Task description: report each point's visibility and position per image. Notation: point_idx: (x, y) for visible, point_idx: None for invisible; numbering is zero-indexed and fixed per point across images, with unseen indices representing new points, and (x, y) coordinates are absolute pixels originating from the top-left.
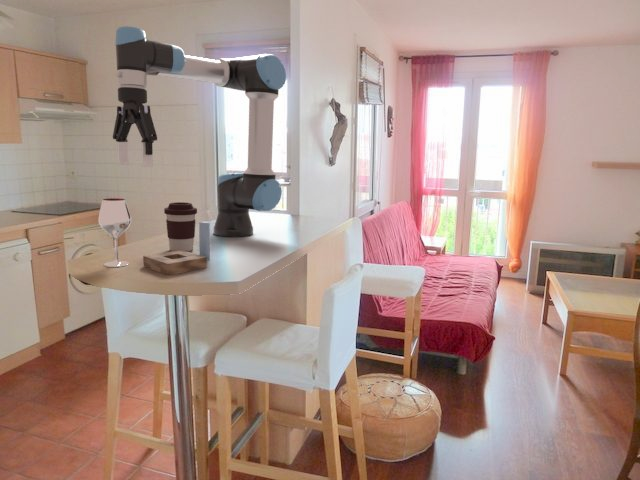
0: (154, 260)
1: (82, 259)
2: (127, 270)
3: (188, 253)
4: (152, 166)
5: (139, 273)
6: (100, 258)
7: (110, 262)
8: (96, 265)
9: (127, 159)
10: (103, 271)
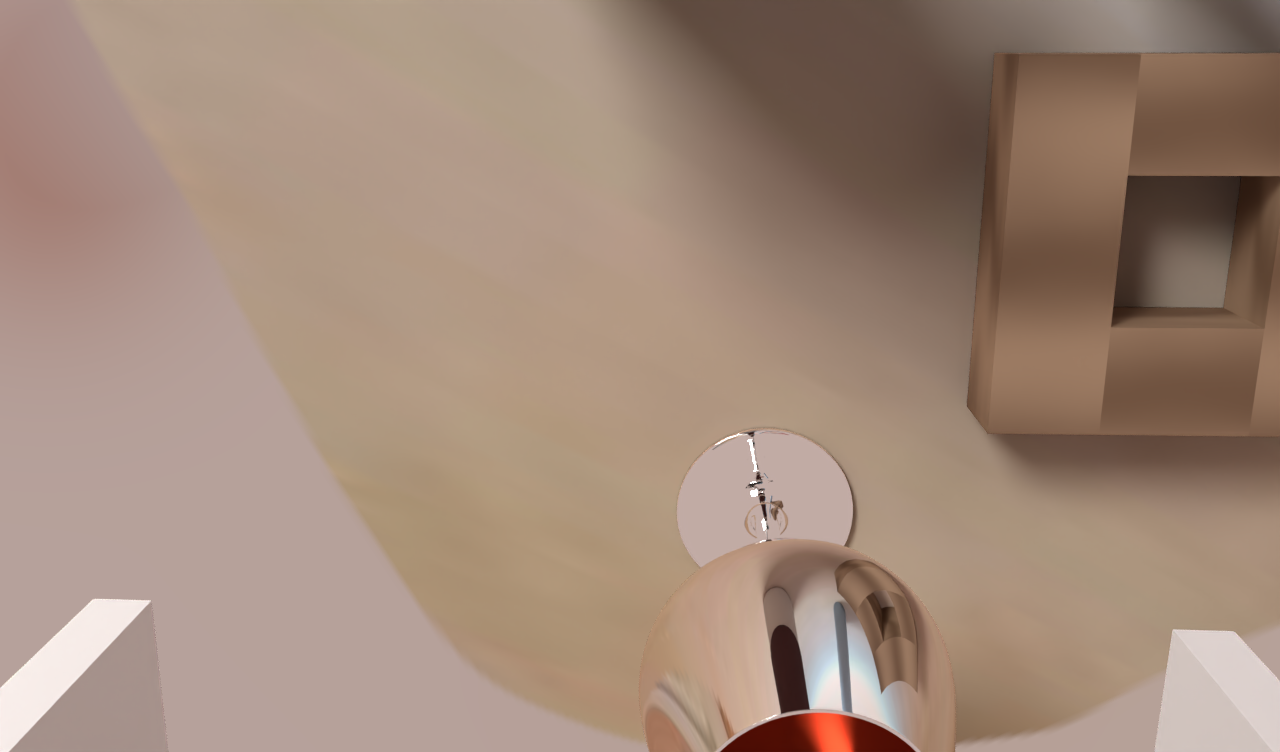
0: (1159, 433)
1: (448, 607)
2: (977, 539)
3: (1185, 90)
4: (1241, 647)
5: (1113, 522)
6: (496, 503)
7: (704, 529)
8: None
9: (99, 679)
10: None
